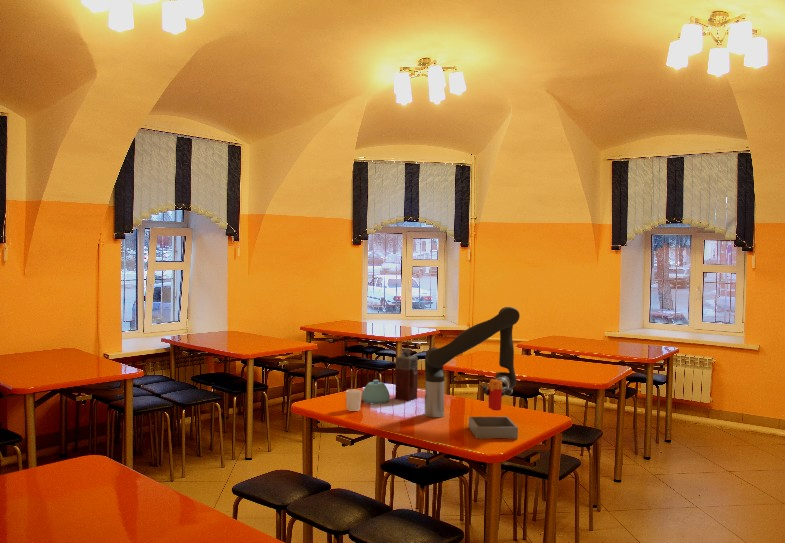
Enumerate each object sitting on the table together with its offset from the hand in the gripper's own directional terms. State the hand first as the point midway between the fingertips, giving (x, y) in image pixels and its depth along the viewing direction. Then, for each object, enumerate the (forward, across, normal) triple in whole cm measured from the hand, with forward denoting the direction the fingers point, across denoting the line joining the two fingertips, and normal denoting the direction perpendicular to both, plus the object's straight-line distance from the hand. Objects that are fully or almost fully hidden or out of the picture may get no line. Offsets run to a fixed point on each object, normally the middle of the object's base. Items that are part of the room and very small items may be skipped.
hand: (494, 393), depth 277 cm
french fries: (-1, 0, +7) cm, 7 cm away
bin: (0, 0, +18) cm, 18 cm away
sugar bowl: (-37, -70, +18) cm, 81 cm away
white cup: (-14, -74, +18) cm, 77 cm away
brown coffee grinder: (-48, -55, +18) cm, 76 cm away
